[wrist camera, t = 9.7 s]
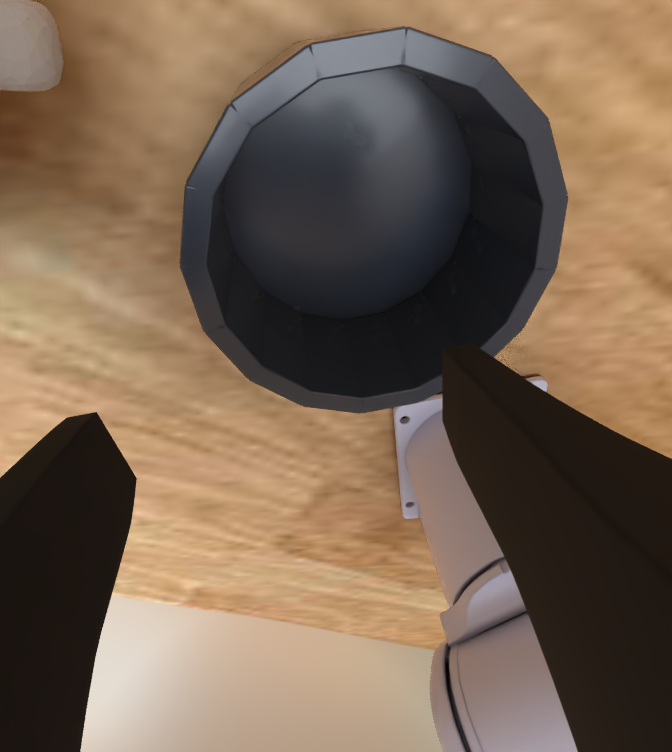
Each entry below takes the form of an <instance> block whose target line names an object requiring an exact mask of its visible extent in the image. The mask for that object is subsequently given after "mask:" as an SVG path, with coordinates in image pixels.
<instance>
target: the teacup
mask: <svg viewBox="0 0 672 752" xmlns="http://www.w3.org/2000/svg"><path fill="white" fill-rule="evenodd" d="M63 64H64V60H63V54H62V48H61V43H60V37H59V31H58V28H57V25H56V23H55V20H54V18H53V16H52V14H51V13H50V12H49V11H48V9H47V8H46V7H45V6H44V5H43V4H41V3H39V2H36V1H31V0H0V90H8V91H45V90H49V89H51V88H53V87H55V86H57V85H59V83H60V80H61V75H62V70H63Z"/></svg>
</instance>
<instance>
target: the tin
mask: <svg viewBox="0 0 672 752" xmlns="http://www.w3.org/2000/svg"><path fill="white" fill-rule="evenodd" d="M548 120H549V119H548V117H547V116H546V115H545V114H544V113H543V112H542V110H541V109H540V108H539V107H538V106H537V105H536V104H535V103H534V101H533V100H532V99H531V98H530V97H529V96H528V95H527V93H526V92H525V91H524V90H523V89H522V88H521V87H520V85H519V84H518V83H517V82H516V81H515V80H514V79H513V78H512V76H511V75H510V74H509V73H508V72H507V71H506V70H505V68H504V67H503V66H502V65H501V64H500V63H499V62H498V60H497V59H496V58H494V57H492V55H489V54H486V53H483V52H480V51H477V50H475V49H472V48H469V47H466V46H463V45H460V44H457V43H454V42H451V41H449V40H446V39H443V38H440V37H437V36H434V35H431V34H428V33H425V32H423V31H420V30H417V29H414V28H411V27H405V26H403V27H393V28H383V29H373V30H363V31H357V32H351V33H345V34H339V35H334V36H328V37H322V38H316V39H311V40H305V41H299V42H297V43H294V44H293V45H292V46H290V47H289V48H288V49H286V50H285V51H284V52H282V53H281V54H280V55H278V56H277V57H276V58H274V59H273V60H271V61H270V62H268V63H267V64H266V65H265V66H264V67H262V68H261V69H260V70H258V71H257V72H256V73H254V74H253V75H252V76H250V77H249V78H248V79H246V80H245V81H244V82H242V84H241V85H240V86H239V87H238V89H237V91H236V92H235V94H234V95H233V97H232V99H231V100H230V102H229V103H228V105H227V107H226V109H225V111H224V112H223V114H222V116H221V118H220V120H219V122H218V124H217V125H216V127H215V129H214V131H213V133H212V135H211V136H210V138H209V140H208V142H207V144H206V146H205V148H204V149H203V151H202V153H201V155H200V157H199V159H198V161H197V162H196V164H195V166H194V168H193V170H192V172H191V174H190V175H189V177H188V179H187V181H186V185H185V192H184V206H183V220H182V235H181V249H180V268H181V271H182V274H183V276H184V279H185V282H186V285H187V287H188V290H189V293H190V296H191V298H192V301H193V304H194V307H195V309H196V312H197V315H198V318H199V320H200V323H201V326H202V329H203V331H204V332H205V333H206V335H207V336H208V337H209V338H210V339H211V340H212V341H213V342H214V343H215V344H216V345H217V346H218V347H219V349H220V350H221V351H222V352H223V353H224V354H225V355H226V356H227V357H228V358H229V359H230V360H231V362H232V363H233V364H234V365H235V366H236V367H237V368H238V369H239V370H240V371H241V372H242V373H243V374H244V376H245V377H246V378H249V380H250V381H252V382H254V383H256V384H258V385H260V386H262V387H264V388H266V389H268V390H270V391H272V392H274V393H276V394H278V395H280V396H283V397H285V398H287V399H289V400H291V401H293V402H295V403H297V404H299V405H303V406H304V407H311V408H319V409H328V410H336V411H344V412H352V413H361V412H362V413H366V412H372V411H377V410H382V409H388V408H393V407H399V406H404V405H410V404H415V403H419V402H420V401H424V400H426V399H428V398H430V397H432V396H434V395H436V394H438V393H440V392H442V371H443V348H447V347H453V346H458V345H464V344H469V343H472V344H474V345H475V346H477V347H479V348H480V349H482V350H483V351H485V352H486V353H488V354H489V355H491V356H492V357H494V356H495V355H497V354H498V353H499V352H500V351H501V350H502V349H503V348H504V347H505V346H506V345H507V344H508V343H509V342H510V341H511V340H512V339H513V338H514V337H515V336H517V335H518V334H519V333H520V332H521V331H522V328H524V327H525V325H526V323H527V321H528V319H529V317H530V316H531V314H532V312H533V310H534V308H535V307H536V305H537V303H538V301H539V299H540V298H541V296H542V294H543V292H544V290H545V289H546V287H547V285H548V283H549V281H550V280H551V278H552V276H553V274H554V272H555V270H556V268H557V264H558V258H559V252H560V245H561V239H562V233H563V227H564V221H565V214H566V208H567V202H568V196H567V190H566V186H565V182H564V178H563V174H562V170H561V166H560V162H559V158H558V154H557V150H556V146H555V142H554V138H553V134H552V130H551V126H550V122H549V121H548Z"/></svg>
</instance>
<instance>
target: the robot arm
mask: <svg viewBox="0 0 672 752" xmlns="http://www.w3.org/2000/svg"><path fill="white" fill-rule="evenodd" d="M547 386H548V385H547V382H546V381H545V379H544V378H543V377H540V376H536V377H531V378H523V377H522V376H520V375H519V374H517V373H516V372H514V371H513V370H511V369H510V368H508V367H507V366H505V365H504V364H502V363H501V362H499V361H498V360H496V359H495V358H493V357H492V356H491V355H489V354H488V353H486V352H485V351H483V350H482V349H480V348H479V347H477V346H475V345H474V344H472V343H469V344H464V345H458V346H453V347H447V348H443V371H442V394H438V395H434V396H432V397H430V398H428V399H426V400H424V401H420V402H419V403H415V404H410V405H404V406H399V407H394V408H393V416H394V428H395V440H396V452H397V464H398V476H399V488H400V500H401V512H402V515H403V517H404V518H405V519H414V518H420V519H421V522H422V526H423V529H424V532H425V535H426V538H427V541H428V545H429V548H430V551H431V554H432V557H433V560H434V563H435V567H436V570H437V573H438V576H439V579H440V582H441V586H442V589H443V592H444V595H445V598H446V601H447V603H448V605H449V607H450V608H449V609H448V610H446V611H444V612H443V613H441V614H440V619H441V622H442V625H443V629H444V632H445V635H446V639H447V641H445V642H443V643H441V644H440V645H439V646H438V647H437V648H436V650H435V652H434V656H433V659H432V666H431V677H430V700H431V707H432V713H433V718H434V723H435V727H436V731H437V734H438V738H439V741H440V744H441V747H442V750H443V752H672V459H670V458H668V457H666V456H664V455H662V454H660V453H658V452H656V451H653V450H651V449H649V448H647V447H645V446H643V445H641V444H639V443H637V442H635V441H632V440H630V439H628V438H626V437H624V436H622V435H620V434H619V433H617V432H615V431H613V430H611V429H609V428H607V427H605V426H603V425H602V424H600V423H598V422H596V421H594V420H593V419H591V418H589V417H587V416H585V415H584V414H582V413H580V412H578V411H577V410H575V409H573V408H571V407H570V406H568V405H566V404H565V403H563V402H561V401H560V400H558V399H556V398H555V397H553V396H551V395H550V394H548V393H547ZM404 416H407V417H406V418H404V419H401V418H402V417H404ZM136 479H137V478H136V477H135V475H134V473H133V472H132V470H131V468H130V467H129V465H128V463H127V462H126V460H125V458H124V457H123V455H122V453H121V452H120V450H119V448H118V447H117V445H116V444H115V442H114V440H113V439H112V437H111V435H110V434H109V432H108V430H107V429H106V427H105V425H104V424H103V422H102V420H101V419H100V417H99V415H98V414H97V412H95V413H90V414H84V415H79V416H73V417H68V418H66V419H65V420H64V421H62V422H61V423H60V424H58V425H57V426H56V427H55V428H54V429H53V430H51V431H50V432H49V433H48V434H47V435H46V436H45V437H44V438H43V439H41V440H40V441H39V442H38V443H37V444H36V445H35V446H34V447H33V448H32V449H31V450H30V451H28V452H27V453H26V454H25V455H24V456H23V457H22V458H21V459H20V460H19V461H18V462H17V463H16V464H15V465H14V466H12V467H11V468H10V469H9V470H8V471H7V472H6V473H5V474H4V475H3V476H2V477H1V478H0V752H80V749H81V742H82V735H83V728H84V721H85V715H86V708H87V702H88V697H89V690H90V685H91V679H92V673H93V668H94V662H95V656H96V652H97V648H98V644H99V639H100V635H101V631H102V627H103V624H104V620H105V617H106V613H107V609H108V605H109V602H110V599H111V595H112V591H113V588H114V584H115V581H116V577H117V574H118V570H119V566H120V563H121V559H122V555H123V552H124V548H125V544H126V540H127V537H128V533H129V529H130V525H131V519H132V513H133V506H134V497H135V488H136Z"/></svg>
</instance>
